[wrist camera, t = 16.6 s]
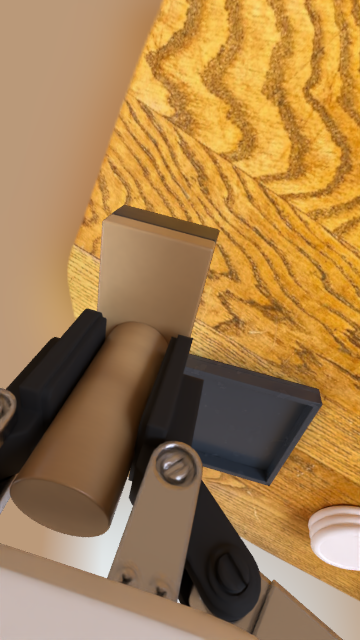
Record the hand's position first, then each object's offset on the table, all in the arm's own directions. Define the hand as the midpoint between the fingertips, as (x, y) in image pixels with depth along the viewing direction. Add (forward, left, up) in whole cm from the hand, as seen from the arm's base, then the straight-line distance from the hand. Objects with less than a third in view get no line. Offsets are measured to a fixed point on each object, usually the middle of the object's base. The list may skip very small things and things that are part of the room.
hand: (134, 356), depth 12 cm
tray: (+8, -21, -17) cm, 28 cm away
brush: (0, 0, -3) cm, 3 cm away
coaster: (+28, -35, -17) cm, 48 cm away
